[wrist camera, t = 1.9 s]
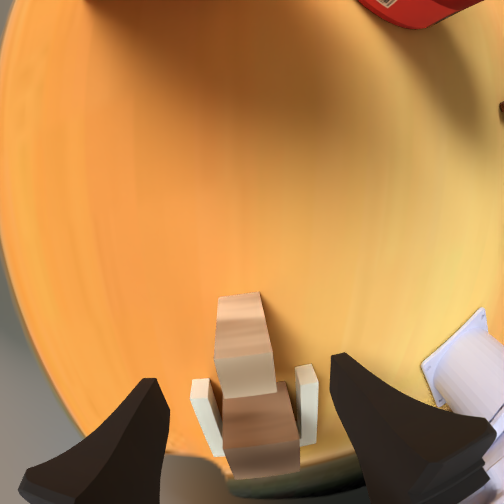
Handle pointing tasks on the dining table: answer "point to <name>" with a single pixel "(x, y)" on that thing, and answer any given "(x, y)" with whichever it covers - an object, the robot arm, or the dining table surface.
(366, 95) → the dining table surface
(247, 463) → the block
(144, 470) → the robot arm
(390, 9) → the canned food
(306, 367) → the white u-shaped bracket
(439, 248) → the dining table surface
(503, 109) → the mug
